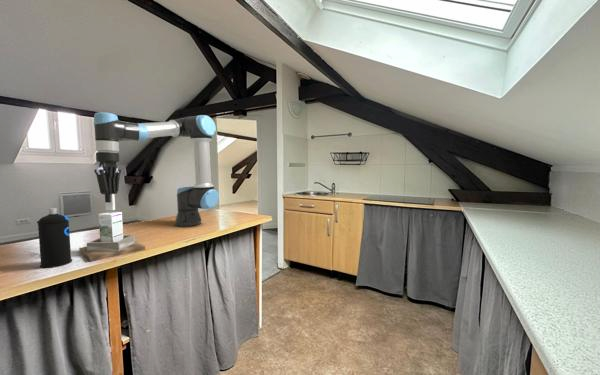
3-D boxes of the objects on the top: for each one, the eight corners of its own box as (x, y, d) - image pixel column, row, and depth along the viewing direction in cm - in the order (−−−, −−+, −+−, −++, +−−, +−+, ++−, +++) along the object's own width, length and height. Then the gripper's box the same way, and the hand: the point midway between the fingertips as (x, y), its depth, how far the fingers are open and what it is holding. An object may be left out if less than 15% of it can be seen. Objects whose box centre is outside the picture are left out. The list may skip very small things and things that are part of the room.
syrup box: (124, 245, 105) (122, 211, 104) (113, 249, 99) (111, 213, 98) (111, 244, 106) (110, 211, 104) (99, 249, 100) (97, 213, 99)
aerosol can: (43, 270, 82) (39, 211, 81) (36, 265, 87) (32, 208, 85) (75, 262, 89) (72, 207, 88) (67, 258, 94) (64, 206, 92)
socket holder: (130, 241, 115) (129, 231, 115) (145, 249, 104) (144, 237, 104) (79, 251, 101) (78, 239, 101) (90, 261, 90) (89, 248, 90)
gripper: (108, 153, 106) (111, 207, 107) (85, 150, 93) (88, 212, 94) (127, 153, 107) (129, 207, 108) (106, 151, 94) (109, 212, 95)
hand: (110, 209), depth 101 cm, fingers closed
